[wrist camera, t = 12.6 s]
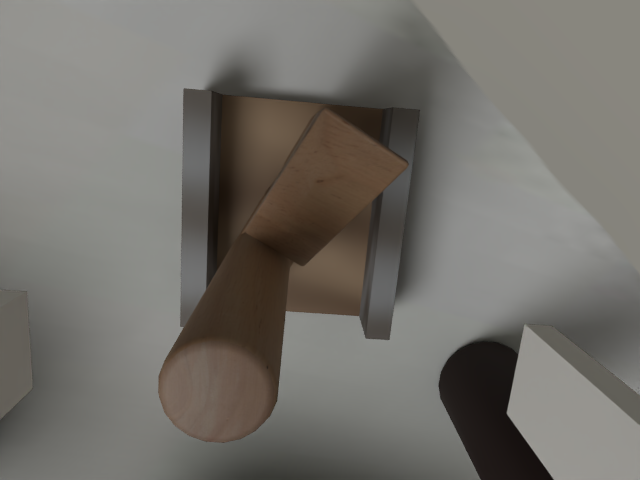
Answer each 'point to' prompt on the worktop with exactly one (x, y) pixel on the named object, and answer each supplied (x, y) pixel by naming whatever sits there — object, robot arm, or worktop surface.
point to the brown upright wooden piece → (268, 281)
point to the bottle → (488, 412)
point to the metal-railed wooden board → (260, 173)
